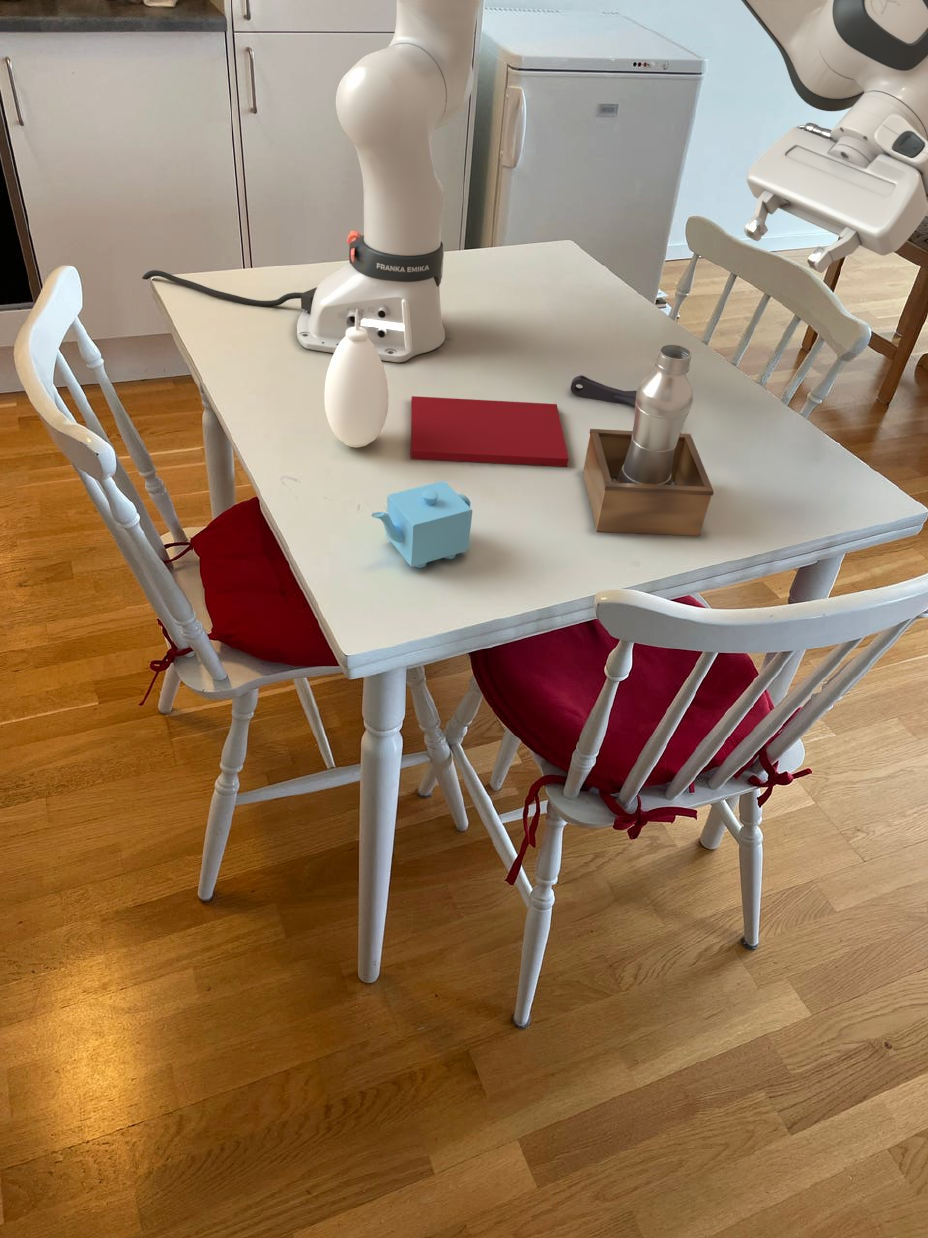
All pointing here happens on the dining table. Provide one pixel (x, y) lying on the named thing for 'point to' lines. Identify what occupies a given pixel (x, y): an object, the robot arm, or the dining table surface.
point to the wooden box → (645, 489)
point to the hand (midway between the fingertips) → (780, 250)
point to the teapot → (427, 523)
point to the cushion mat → (487, 431)
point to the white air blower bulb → (356, 389)
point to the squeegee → (601, 391)
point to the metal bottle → (659, 418)
